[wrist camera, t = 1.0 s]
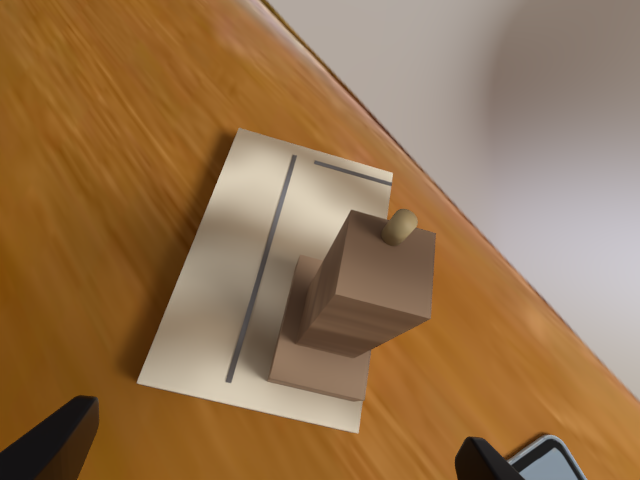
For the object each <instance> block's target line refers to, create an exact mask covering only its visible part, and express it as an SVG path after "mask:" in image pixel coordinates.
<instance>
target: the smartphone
mask: <svg viewBox="0 0 640 480" xmlns="http://www.w3.org/2000/svg"><path fill="white" fill-rule="evenodd" d="M507 462H508V463H509V464H510V465H511V466H512V467H513V468H514V469H515V470H516V471H517V472H518V473H519V474H520V475H521V476H522V477H523V478H524V479H525V480H587V479H586V477H585V475H584V474H583V472H582V471H581V469H580V467H579V466H578V464H577V463H576V461H575V459H574V458H573V456H572V454H571V453H570V451H569V450H568V448H567V446H566V445H565V444H564V442H563V441H562V440H561V439H559V438H558V437H556V436H554V435H543V436H541V437H540V438H538V439H537V440H535V441H534V442H533V443H531V444H530V445H528V446H527V447H526V448H524V449H522V450H521V451H520V452H518V453H517V454H516V455H514V456H513V457H512V458H510V459H509V460H507Z"/></svg>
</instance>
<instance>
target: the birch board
mask: <svg viewBox="0 0 640 480" xmlns="http://www.w3.org/2000/svg"><path fill="white" fill-rule="evenodd" d="M392 176H393V173H391V172H387V171H384V170H381V169H377V168H374V167H370V166H367V165H364V164H360V163H357V162H353V161H350V160H347V159H343V158H340V157H336V156H333V155H329V154H326V153H323V152H319V151H316V150H312V149H309V148H306V147H302V146H299V145H295V144H292V143H289V142H285V141H282V140H278V139H275V138H272V137H268V136H265V135H261V134H258V133H255V132H251V131H248V130H244V129H241V128H239V129H238V131H237V134H236V136H235V139H234V141H233V144H232V146H231V149H230V151H229V154H228V156H227V159H226V161H225V164H224V166H223V169H222V171H221V174H220V176H219V179H218V181H217V184H216V186H215V189H214V191H213V194H212V196H211V199H210V201H209V204H208V206H207V209H206V211H205V214H204V216H203V219H202V221H201V224H200V226H199V229H198V231H197V234H196V236H195V239H194V241H193V244H192V246H191V249H190V251H189V254H188V256H187V259H186V261H185V263H184V266H183V268H182V271H181V273H180V276H179V278H178V281H177V283H176V286H175V288H174V291H173V293H172V296H171V298H170V301H169V303H168V306H167V308H166V311H165V313H164V316H163V318H162V321H161V323H160V326H159V328H158V331H157V333H156V336H155V338H154V341H153V343H152V346H151V348H150V351H149V353H148V356H147V358H146V361H145V363H144V366H143V368H142V371H141V373H140V376H139V378H138V381H137V383H138V384H140V385H143V386H148V387H152V388H157V389H161V390H165V391H170V392H174V393H179V394H183V395H188V396H192V397H196V398H201V399H205V400H210V401H214V402H218V403H223V404H227V405H232V406H236V407H241V408H245V409H249V410H254V411H258V412H263V413H267V414H272V415H276V416H280V417H285V418H289V419H294V420H298V421H302V422H307V423H311V424H316V425H320V426H325V427H329V428H333V429H338V430H342V431H347V432H351V433H358V432H359V425H360V417H361V410H362V402H363V401H356V402H352V401H348V400H344V399H339V398H335V397H331V396H326V395H322V394H318V393H314V392H309V391H305V390H301V389H297V388H292V387H288V386H284V385H279V384H275V383H271V382H267V379H268V375H269V371H270V367H271V363H272V359H273V355H274V351H275V347H276V343H277V339H278V335H279V331H280V327H281V323H282V319H283V315H284V311H285V307H286V303H287V299H288V295H289V291H290V287H291V283H292V279H293V275H294V271H295V267H296V264H297V261H298V259H299V256H300V255H304V256H308V257H312V258H315V259H319V260H324V258H325V257H326V255H327V253H328V251H329V249H330V247H331V246H332V244H333V242H334V240H335V238H336V236H337V235H338V233H339V231H340V229H341V227H342V225H343V224H344V222H345V220H346V218H347V216H348V214H349V213H350V211H351V210H355V211H359V212H362V213H366V214H369V215H373V216H376V217H380V218H383V219H387V214H388V207H389V199H390V191H391V186H392Z"/></svg>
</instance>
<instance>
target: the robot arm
mask: <svg viewBox="0 0 640 480" xmlns="http://www.w3.org/2000/svg"><path fill="white" fill-rule="evenodd" d="M98 425H99V402H98V398H97V397H93V396H84V395H79V396H76V397H74V398H73V399H72V400H70V401H69V402H68V403H66V404H65V405H64V406H62V407H61V408H60V409H58V410H57V411H55V412H54V413H53V414H51V415H50V416H49V417H47V418H46V419H45V420H43V421H42V422H41V423H39V424H38V425H37V426H35V427H34V428H33V429H31V430H30V431H29V432H27V433H26V434H25V435H23V436H22V437H21V438H19V439H18V440H17V441H15V442H14V443H13V444H11V445H10V446H8V447H7V448H6V449H4V450H3V451H2V452H0V480H77V478H78V476H79V473H80V471H81V469H82V466H83V464H84V461H85V459H86V457H87V454H88V452H89V449H90V447H91V445H92V442H93V440H94V437H95V435H96V432H97V429H98ZM455 469H456V473H457V478H458V480H525V479H524V478H523V477H522V476H521V475H520V474H519V473H518V472H517V471H516V470H515V469H514V468H513V467H512V466H511V465H510V464H509V463H508V462H507V461H506V460H505V459H504V458H503V457H502V456H501V455H500V454H499V453H498V452H497V451H496V450H495V449H494V448H493V447H492V446H491V445H490V444H489V443H488V442H487V441H486V440H485V439H483V438H480V437H467V438H466V439H465V440H464V442H463V444H462V446H461V448H460V449H459V451H458V453H457V455H456V457H455Z"/></svg>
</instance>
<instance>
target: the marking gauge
mask: <svg viewBox="0 0 640 480" xmlns="http://www.w3.org/2000/svg"><path fill="white" fill-rule="evenodd" d="M417 223H418V221H417V218H416V216H415V214H414V213H413V212H411V211H410V210H407V209H400V210H398V211H397V212H396V213H395V214H394V215H393V217H392V218H391V219H390V220H387V219H383V218H380V217H376V216H373V215H369V214H366V213H362V212H359V211H355V210H351V211H350V213H349V214H348V216H347V218H346V220H345V222H344V224H343V225H342V227H341V229H340V231H339V233H338V235H337V236H336V238H335V240H334V242H333V244H332V246H331V247H330V249H329V251H328V253H327V255H326V257H325V258H324V260H319V259H315V258H312V257H308V256H304V255H300V256H299V259H298V261H297V264H296V267H295V271H294V275H293V279H292V283H291V287H290V291H289V295H288V299H287V303H286V307H285V311H284V315H283V319H282V323H281V327H280V331H279V335H278V339H277V343H276V347H275V351H274V355H273V359H272V363H271V367H270V371H269V375H268V379H267V382H271V383H275V384H279V385H284V386H288V387H292V388H297V389H301V390H305V391H309V392H314V393H318V394H322V395H326V396H331V397H335V398H339V399H344V400H348V401H352V402H356V401H363V400H365V393H366V385H367V378H368V370H369V362H370V355H371V349H373V348H375V347H377V346H379V345H381V344H383V343H385V342H387V341H389V340H391V339H392V338H394V337H396V336H398V335H400V334H402V333H404V332H406V331H408V330H410V329H412V328H414V327H416V326H418V325H419V324H421V323H423V322H425V321H427V320H429V319H431V304H432V288H433V271H434V254H435V238H436V233H433V232H430V231H426V230H423V229H419V228H416V226H417Z"/></svg>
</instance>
